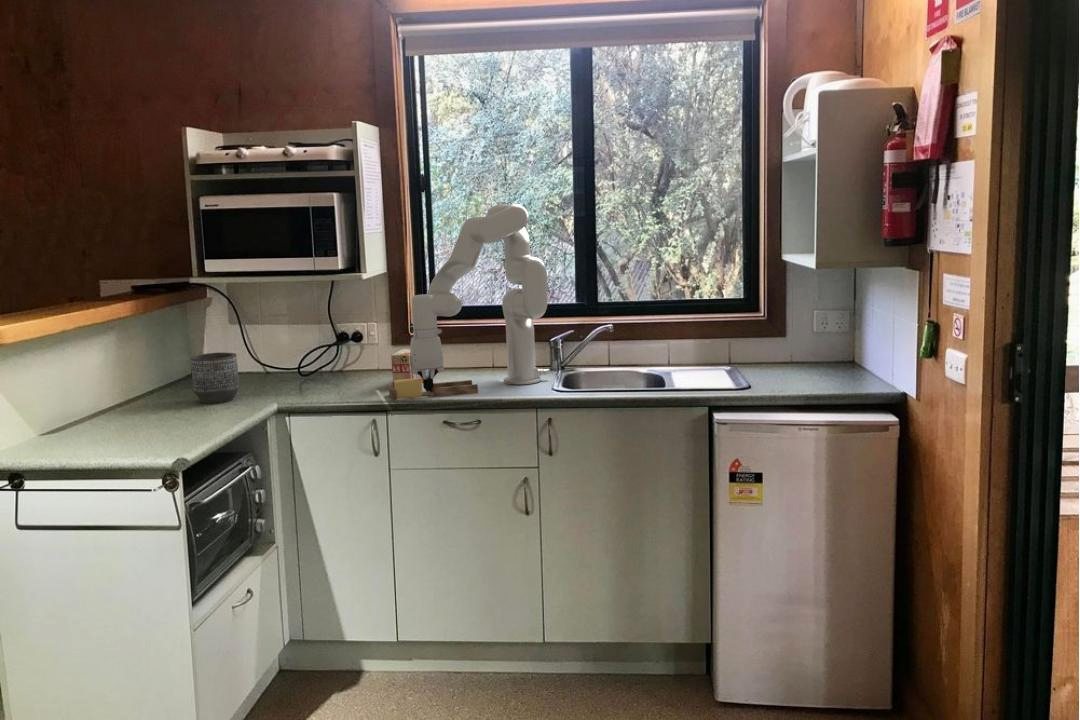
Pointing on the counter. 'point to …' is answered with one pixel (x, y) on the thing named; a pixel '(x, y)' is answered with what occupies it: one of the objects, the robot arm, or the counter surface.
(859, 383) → the counter surface
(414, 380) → the block
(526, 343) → the robot arm
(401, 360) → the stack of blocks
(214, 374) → the planter
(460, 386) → the chute board
